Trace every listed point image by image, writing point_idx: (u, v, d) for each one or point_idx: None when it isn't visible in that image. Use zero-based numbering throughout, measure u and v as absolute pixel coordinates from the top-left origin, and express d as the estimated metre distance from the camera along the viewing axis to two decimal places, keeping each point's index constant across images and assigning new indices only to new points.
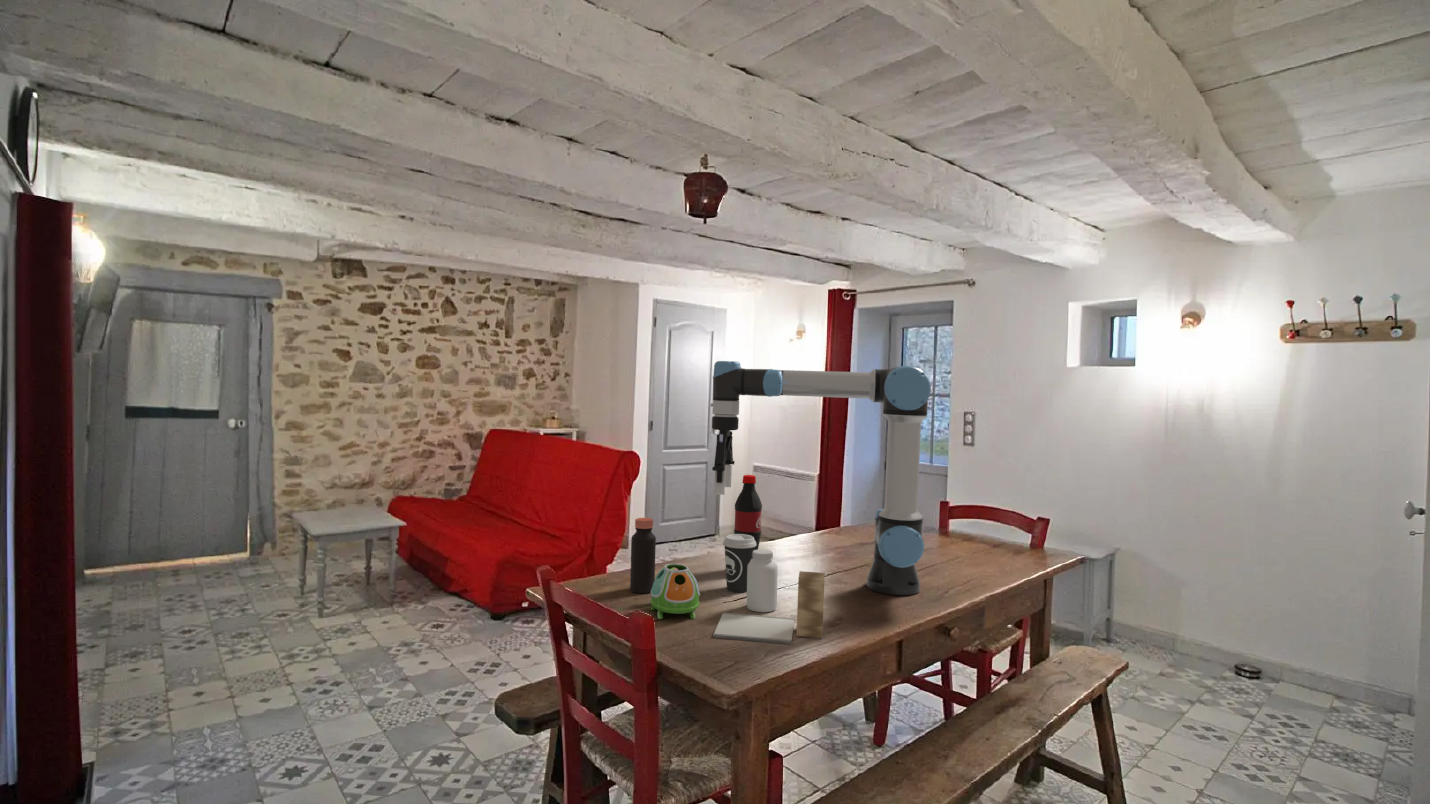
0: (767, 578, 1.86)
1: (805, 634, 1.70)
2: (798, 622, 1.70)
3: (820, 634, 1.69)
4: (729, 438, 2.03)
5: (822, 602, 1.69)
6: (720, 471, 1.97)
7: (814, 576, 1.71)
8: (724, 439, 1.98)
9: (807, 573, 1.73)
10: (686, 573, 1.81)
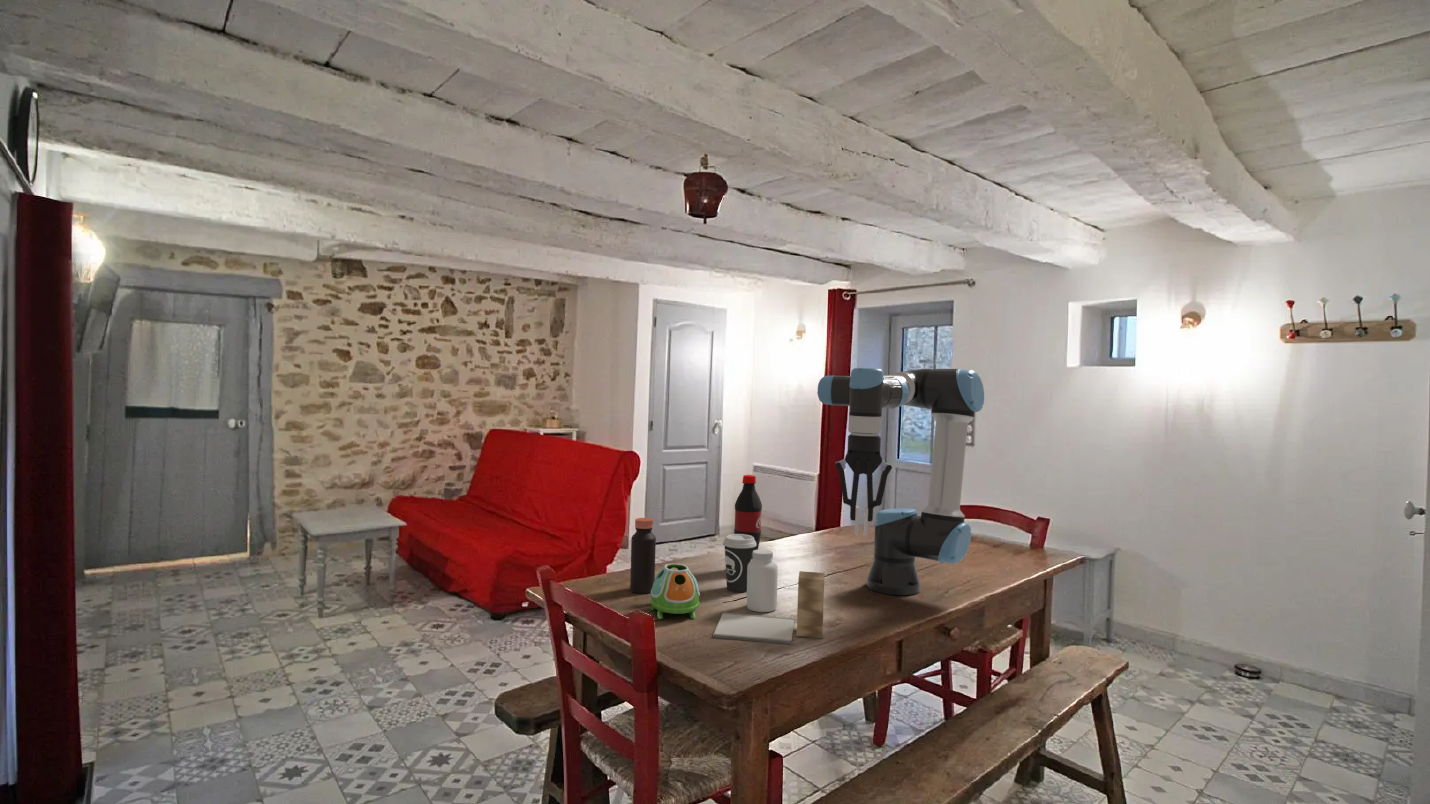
0: (767, 578, 1.86)
1: (805, 634, 1.70)
2: (798, 622, 1.70)
3: (820, 634, 1.69)
4: (855, 462, 1.68)
5: (822, 602, 1.69)
6: (850, 506, 1.70)
7: (813, 576, 1.71)
8: (837, 468, 1.69)
9: (807, 573, 1.73)
10: (686, 573, 1.81)
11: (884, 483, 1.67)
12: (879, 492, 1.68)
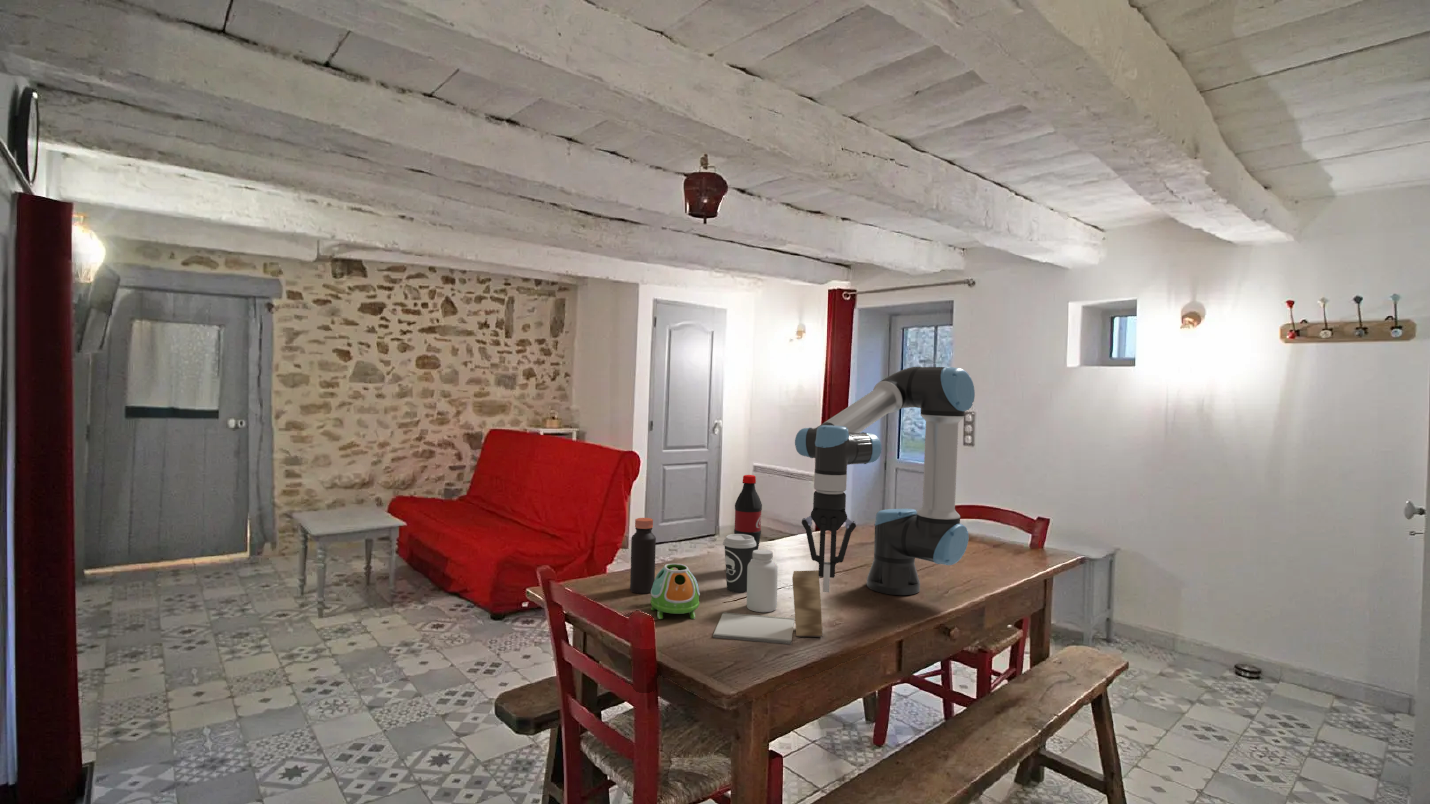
0: (767, 578, 1.86)
1: (805, 633, 1.70)
2: (796, 622, 1.70)
3: (819, 632, 1.69)
4: (820, 520, 1.69)
5: (818, 599, 1.69)
6: None
7: (807, 574, 1.71)
8: None
9: (801, 572, 1.74)
10: (686, 573, 1.81)
11: (847, 541, 1.69)
12: (842, 549, 1.69)
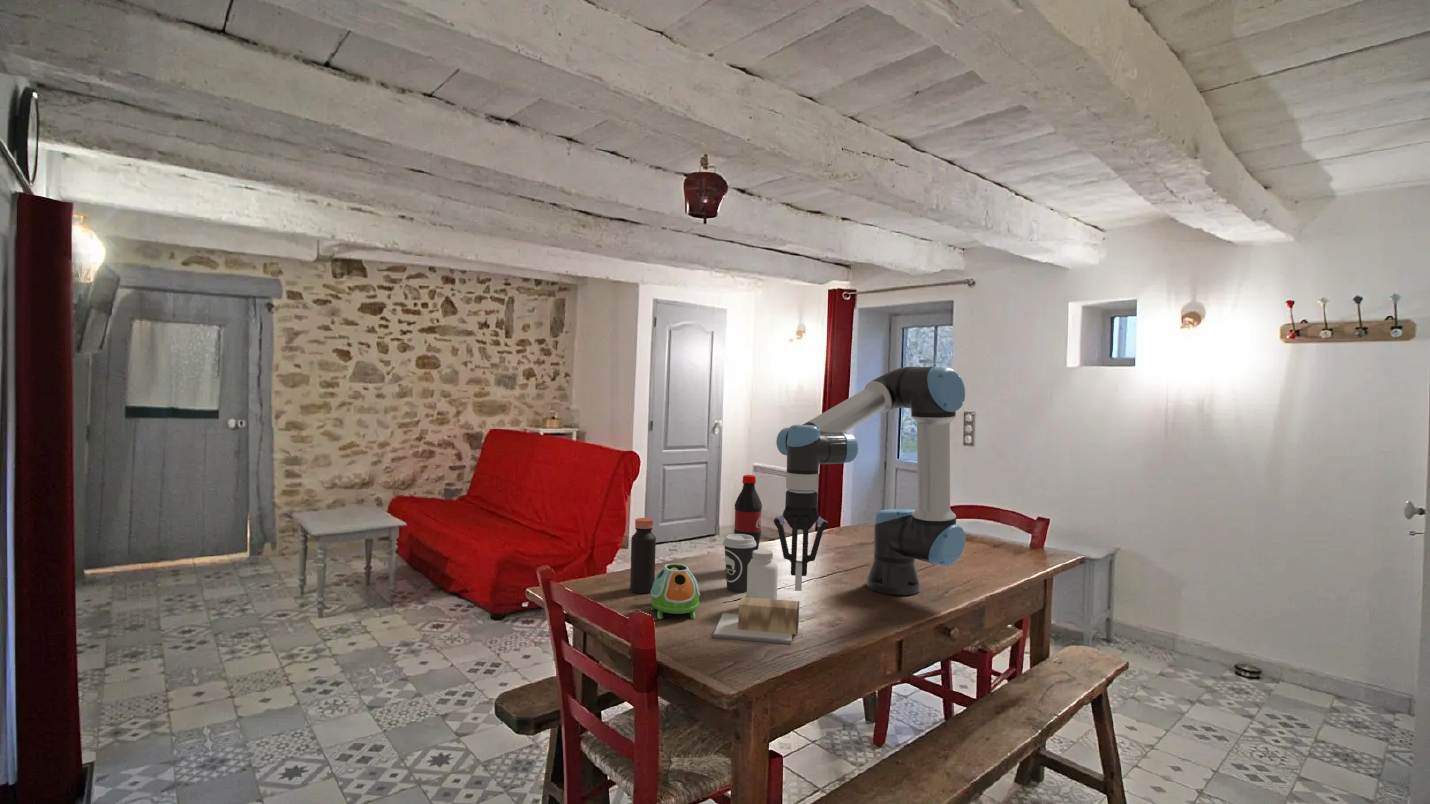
0: (767, 578, 1.86)
1: (794, 625, 1.70)
2: (782, 631, 1.70)
3: (793, 610, 1.70)
4: (792, 519, 1.70)
5: (761, 607, 1.71)
6: (790, 561, 1.72)
7: None
8: None
9: None
10: (686, 573, 1.81)
11: (819, 539, 1.70)
12: (813, 548, 1.70)
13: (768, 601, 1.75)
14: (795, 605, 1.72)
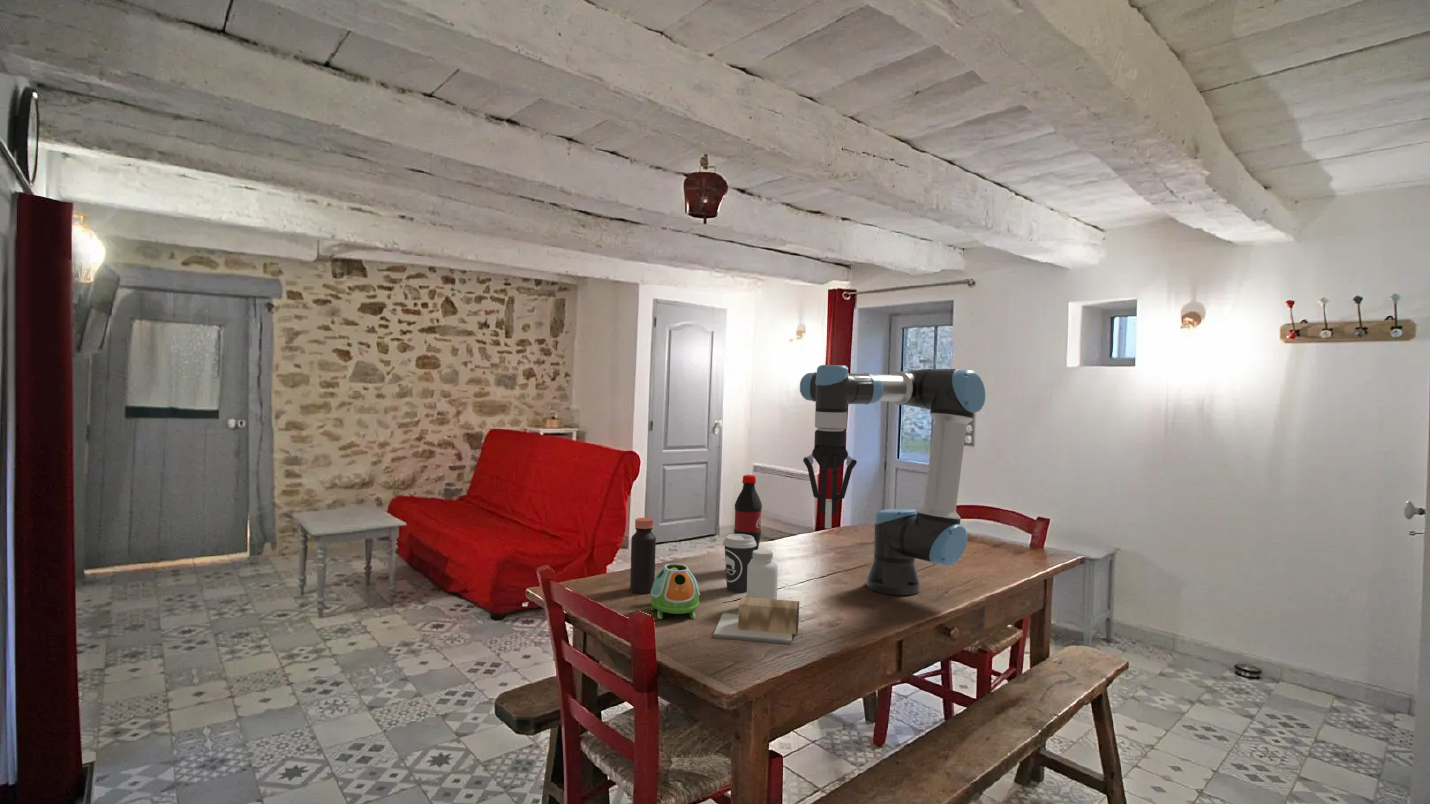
0: (767, 578, 1.86)
1: (794, 625, 1.70)
2: (782, 631, 1.70)
3: (793, 610, 1.70)
4: (822, 457, 1.73)
5: (761, 607, 1.71)
6: None
7: None
8: (805, 464, 1.74)
9: None
10: (686, 573, 1.81)
11: (848, 477, 1.72)
12: (843, 485, 1.73)
13: (768, 601, 1.75)
14: (795, 605, 1.72)
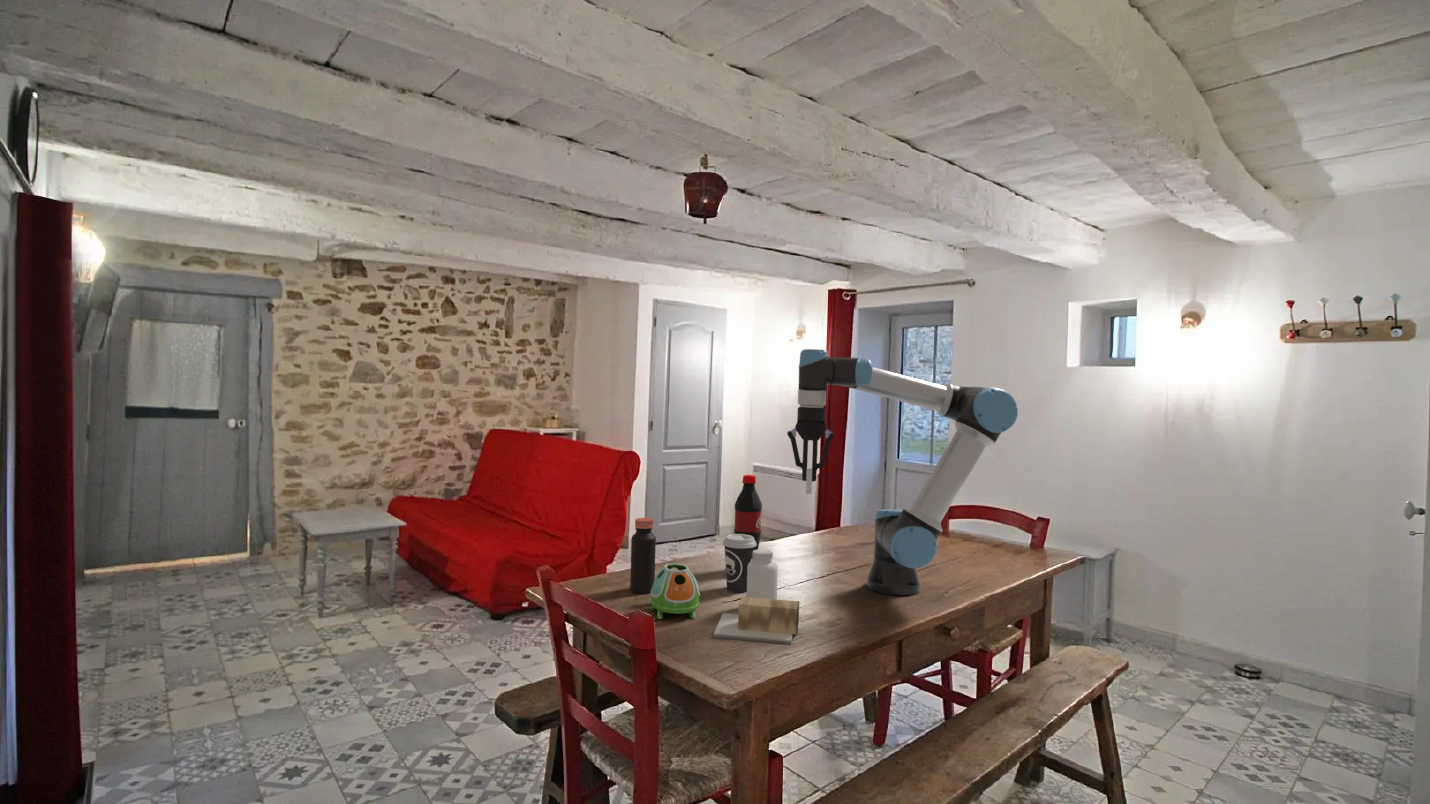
0: (767, 578, 1.86)
1: (794, 625, 1.70)
2: (782, 631, 1.70)
3: (793, 610, 1.70)
4: (803, 431, 1.95)
5: (761, 607, 1.71)
6: (802, 469, 1.97)
7: None
8: (789, 437, 1.97)
9: None
10: (686, 573, 1.81)
11: (827, 448, 1.95)
12: (822, 456, 1.95)
13: (768, 601, 1.75)
14: (795, 605, 1.72)
